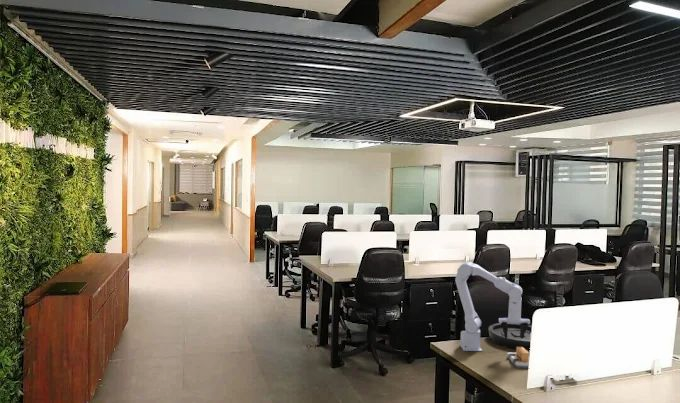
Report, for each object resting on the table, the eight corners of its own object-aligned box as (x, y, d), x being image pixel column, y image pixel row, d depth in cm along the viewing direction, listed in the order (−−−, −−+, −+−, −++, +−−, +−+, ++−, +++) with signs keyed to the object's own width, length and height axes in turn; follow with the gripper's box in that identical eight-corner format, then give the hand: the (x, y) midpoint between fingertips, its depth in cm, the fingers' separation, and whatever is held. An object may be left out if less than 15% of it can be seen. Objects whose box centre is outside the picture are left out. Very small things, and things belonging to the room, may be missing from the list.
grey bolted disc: (533, 332, 263) (481, 331, 263) (534, 322, 263) (481, 321, 263) (558, 352, 233) (498, 351, 233) (558, 340, 233) (499, 339, 233)
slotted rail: (516, 368, 212) (516, 362, 211) (507, 357, 225) (507, 352, 224) (538, 368, 211) (538, 363, 211) (527, 357, 224) (527, 352, 224)
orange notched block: (522, 363, 214) (522, 352, 214) (516, 357, 222) (516, 346, 222) (528, 363, 214) (528, 352, 214) (522, 357, 222) (522, 346, 222)
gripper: (502, 312, 221) (501, 340, 222) (533, 313, 220) (531, 341, 221) (497, 308, 228) (496, 335, 229) (527, 309, 227) (526, 336, 228)
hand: (513, 337), depth 225 cm, fingers open, 7 cm apart
